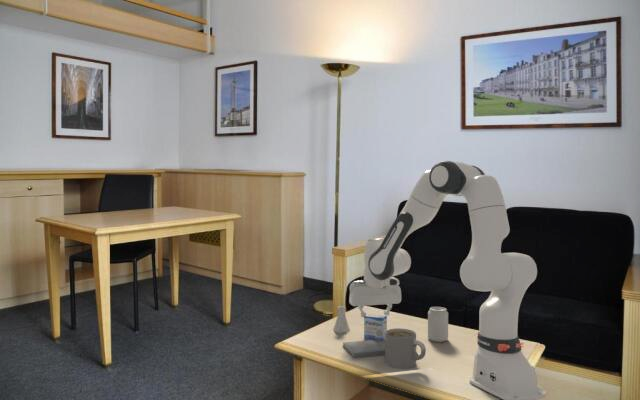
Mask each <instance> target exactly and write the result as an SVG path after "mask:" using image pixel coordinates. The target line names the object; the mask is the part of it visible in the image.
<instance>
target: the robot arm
mask: <svg viewBox="0 0 640 400" xmlns="http://www.w3.org/2000/svg"><path fill="white" fill-rule="evenodd" d="M448 195H451V196H453V197H454V196H455V197H464V198H465V200H466V204H467V208H468V209H467V210H468V215H469V221H470V222H469V223H470V226H471V245H470V246H471V247H470V249H469V253H468V255H467V256H466V258H465V259H464V260H463V262H462V264H461V265H460V268H459V277H460V279H461V283H462V284H463V285H464V286H465V287H466V288H467V289H469V290H471V291H476V292H477V291H478V292H490V294H489V295H488V297H487V299H485V301H484V302H483V303H482V304H481V306H480V307H479V316H478V318H479V320H478V321H479V322H478V323H479V324H478V332H477V335H476V336H477V338H476V340H477V341H476V342H477V345H478V347H477V351H475V354H474V360H473V370H472V376H471V377H470V378H469V384H472V385H473V386H475V387H478V388H479V389H482V390H483V391H485V392H488V393H489V394H491V395H494V396H496V397H498V398H500V399H501V400H541V399H543V398H546V397H547V396H548V394H547V391H546V390H545V389H544V388H543V387H541V386H540V385H539V384H538V376H537V371H536V368H535V366H534V365H532V364H531V363H530V362H529V361H528V358H527V357H526V356H525V355H524V353H523V351H522V348H524V346H523V345H524V342H522V343H521V339H520V337H519V335H518V324H519V323H518V322H519V312H520V307H521V303H522V301H523V297H524V295H525V293H526V292H527V290H528V288H529V287H530V285H531V284H532V283H534V282H535V280H536V279H537V276H538V268H537V263H536V262H535V260H534V258H533V257H531V256H530V255H527V254H524V253H520V252H502V250H501V249H502V243H503V241H504V240H505V239H506V238H507V237H508V235H509V234H510V232H511V229H510V223H509V219H508V213H507V212H508V211H507V208H506V203H505V199H504V196H503V193H502V190H501V187H500V184H499V182H498V180H497V179H496V178H495V177H494V176H491V175H488V174H486V173H485V172H484V171H483V170H482V169H481V168H480V167H477V166H475V165H470V164H467V163H464V162H461V161H450V160H444V161H439V162H437V163H436V164H434V165H433V166H432V167H431V169H428V170H426V171H424V172H423V173H422V175H420V177H419V179H418V180H417V182H416V183H415V185H414V187H413V189H412V190H411V193H410V195H409V197H408V198H407V201H406V203H404V204H405V205H404V207H402V210H401V211H400V213H399V215H398V216H397V217H396V219H395V220H394V222H393V223H392V224H391V226H390V228H389V230H388V232H387V233H386V235H385V237H377V238H369V239H368V240H367V241H366V243H365V246H364V253H363V255H364V257H363V258H364V259H363V260H364V261H363V262H364V266H365V267H364V271H363V280H354V281H353V282H351V283H350V284H349V295H348V296H349V299H348V301H349V302H348V303H349V304H350V305H351V306H353V307H358V310H359V312H360V317H361V318H364V317H366V315H367V312H366V311H364V310H363V309H364V306H378V305H381V306H382V305H386V306H387V307H386V309H384V310H383V316H390V311H391V310H392V308H393V305H394V304H395V305H396V304H397V305H398V304H400V303H401V302H402V289H401V287H400V286H399V285H400V280H399V278H396V277H395V276H399V275H402V274H405V273H406V272H408V271H409V270H410V268H411V266H412V265H411V264H412V258H411V256H410V254H409V252H408V251H407V250H405V249H404V248H401V247H402V246H403V244H404V242H405V240H406V239H407V238H408V236H409V235H411V234H412V233H414V231H416V230H418V229H420V228H422V227H424V226H427V225H428V224H430V223H431V221H433V219H434V218H435V217H436V216H437V213H438V212H439V210H440V208H441V206H442V204H443V201H444V200H445V198H446V197H447V196H448Z"/></svg>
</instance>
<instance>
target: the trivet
mask: <svg viewBox="0 0 640 400" xmlns="http://www.w3.org/2000/svg"><path fill="white" fill-rule="evenodd" d="M342 347H343V348H344V349H345V350H346V352H347V353H348V354H350V355H351V356H352V357H353V358H355V359H357V358H365V357H366V358H367V357H374V356H385V346H383V345H382V344H380V343H379V342H378V341H377V340H376V339H369V340H359V341H358V340H357V341H346V342H345V341H344V342H343V343H342Z"/></svg>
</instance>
